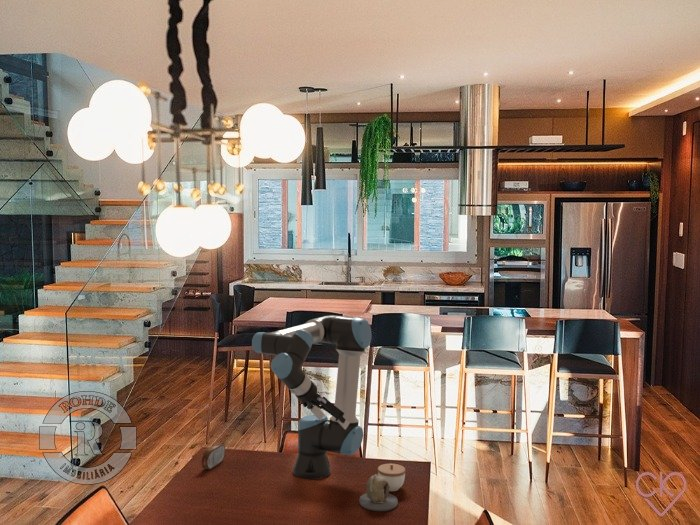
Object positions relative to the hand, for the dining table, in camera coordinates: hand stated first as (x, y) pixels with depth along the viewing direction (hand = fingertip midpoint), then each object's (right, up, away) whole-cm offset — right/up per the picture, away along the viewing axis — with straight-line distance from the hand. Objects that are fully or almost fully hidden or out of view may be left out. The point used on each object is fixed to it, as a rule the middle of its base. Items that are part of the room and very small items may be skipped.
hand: (334, 421), depth 238 cm
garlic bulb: (+16, -29, +1) cm, 33 cm away
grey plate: (+16, -30, +1) cm, 34 cm away
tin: (-51, -27, +34) cm, 67 cm away
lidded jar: (+22, -30, +15) cm, 39 cm away
